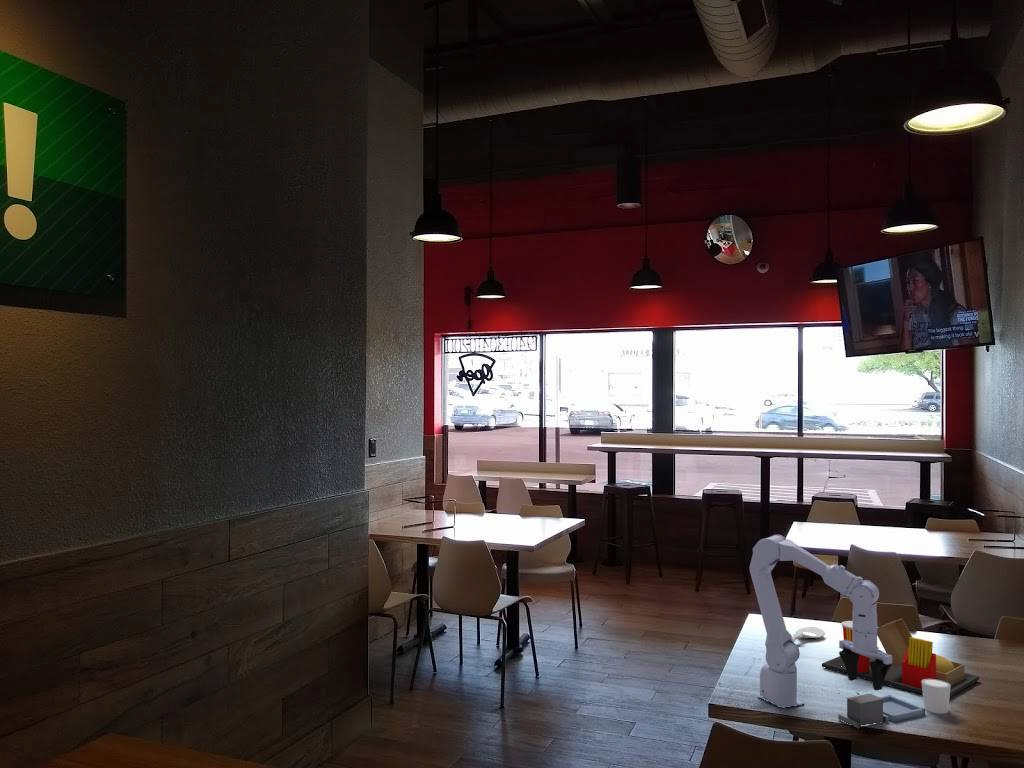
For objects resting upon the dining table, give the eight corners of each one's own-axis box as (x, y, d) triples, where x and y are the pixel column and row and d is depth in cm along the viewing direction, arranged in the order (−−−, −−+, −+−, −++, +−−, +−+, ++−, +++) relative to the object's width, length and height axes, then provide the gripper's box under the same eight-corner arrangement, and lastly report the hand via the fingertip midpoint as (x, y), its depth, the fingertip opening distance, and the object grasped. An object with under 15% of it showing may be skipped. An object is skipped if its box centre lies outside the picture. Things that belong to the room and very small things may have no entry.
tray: (858, 707, 207) (858, 701, 207) (889, 700, 212) (889, 695, 212) (893, 722, 197) (893, 716, 197) (925, 714, 202) (925, 709, 202)
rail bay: (838, 720, 198) (838, 714, 198) (868, 713, 202) (868, 707, 203) (857, 729, 192) (857, 722, 193) (888, 722, 197) (888, 716, 197)
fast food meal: (944, 703, 211) (944, 634, 212) (821, 669, 238) (821, 608, 239) (979, 683, 228) (978, 619, 229) (860, 653, 255) (860, 596, 255)
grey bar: (847, 722, 197) (847, 698, 197) (869, 717, 201) (869, 693, 201) (860, 727, 194) (860, 703, 194) (882, 722, 197) (882, 698, 197)
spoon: (766, 652, 255) (766, 641, 255) (803, 632, 279) (803, 622, 279) (793, 658, 249) (793, 647, 249) (829, 637, 273) (828, 627, 273)
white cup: (941, 704, 210) (941, 678, 210) (956, 714, 203) (956, 687, 203) (916, 704, 209) (916, 678, 210) (930, 714, 202) (930, 687, 203)
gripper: (900, 636, 193) (901, 691, 192) (852, 621, 206) (853, 673, 206) (880, 639, 190) (880, 695, 189) (833, 624, 203) (833, 677, 203)
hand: (864, 684), depth 197 cm, fingers open, 7 cm apart
